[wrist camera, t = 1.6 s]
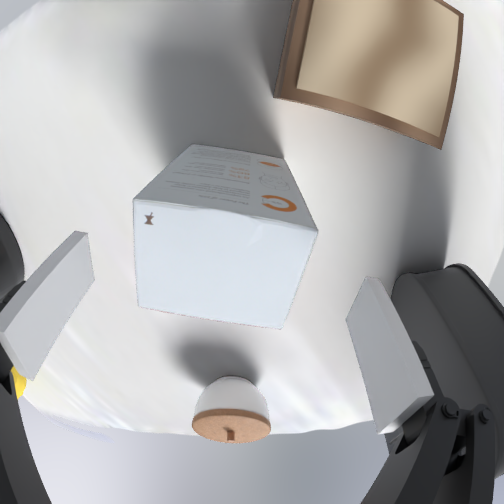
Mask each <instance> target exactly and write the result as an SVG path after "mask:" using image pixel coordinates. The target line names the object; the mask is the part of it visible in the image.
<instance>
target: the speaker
mask: <svg viewBox="0 0 504 504" xmlns="http://www.w3.org/2000/svg"><path fill="white" fill-rule="evenodd" d="M391 301H392V303H393V305H394V307H395V309H396V311H397V313H398V315H399V317H400V319H401V321H402V323H403V325H404V327H405V329H406V331H407V333H408V336H409V338H410V340H411V341H416V342H417V343H418V344H419V345H420V346H421V348H422V349H423V350H424V352H425V354H426V357H427V359H428V360H427V361H429V363H430V365H431V369H432V370H433V372H434V374H435V377H436V379H437V381H438V384H439V386H440V388H441V391H442V393H443V395H444V397H448V398H451V399H452V400H454V401H455V402H456V403H457V405H458V406H459V408H460V409H464V410H470V411H471V410H472V409H473V408H474V407H475V406H477V405H478V404H485V405H487V406H488V407H489V408H490V409H491V411H492V413H493V416H494V425H495V478H494V479H496V478H497V477H499V476H501V475H503V474H504V307H503V306H502V304H501V303H500V302H499V301H498V299H497V298H496V297H495V296H494V294H493V293H492V292H491V291H490V290H489V288H488V287H487V286H486V285H485V284H484V283H483V281H482V280H481V279H480V278H479V277H478V276H477V275H476V274H475V273H474V271H473V270H472V269H470V268H469V267H468V266H466V265H464V264H452V265H449V266H447V267H446V268H445V269H441V270H436V271H431V272H426V273H421V274H414V273H405V274H402V275H401V276H400V277H399V278H398V279H397V281H396V282H395V285H394V288H393V292H392V297H391ZM401 432H403V428H402V425H401V426H400V427H399V428H397V429H396V430H395V431H394V432H390V433H384V434H385V438H386V442H387V446H388V450H389V455H390V453H391V451H392V449H393V447H394V445H395V443H396V441H395V442H394V443H393V444H391V445H390V444H389V443H390V442H391V440H392V439H394V438H395V437H396V436H398V435H399V434H400V433H401ZM465 451H466V447H465V448H464V449H462V450H461V455H464V454H465Z"/></svg>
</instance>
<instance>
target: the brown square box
mask: <svg viewBox="0 0 504 504" xmlns="http://www.w3.org/2000/svg"><path fill="white" fill-rule="evenodd" d="M463 18H464V14H462V13H461V12H459V11H458V10H457V9H455V8H454V7H452V6H451V5H449V4H447V3H446V2H444V1H443V0H293V2H292V7H291V12H290V17H289V22H288V26H287V31H286V36H285V41H284V46H283V51H282V56H281V61H280V66H279V71H278V76H277V81H276V86H275V91H274V96H273V98H277V99H282V100H287V101H292V102H297V103H301V104H305V105H310V106H314V107H318V108H322V109H325V110H329V111H333V112H336V113H340V114H343V115H347V116H350V117H353V118H357V119H360V120H363V121H366V122H369V123H372V124H375V125H378V126H381V127H383V128H386V129H389V130H392V131H394V132H397V133H400V134H402V135H405V136H408V137H410V138H413V139H416V140H418V141H421V142H423V143H426V144H428V145H431V146H433V147H436V148H438V149H440V150H441V148H442V145H443V141H444V137H445V134H446V130H447V126H448V121H449V117H450V113H451V108H452V103H453V98H454V93H455V88H456V82H457V76H458V70H459V62H460V54H461V45H462V34H463Z"/></svg>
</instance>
